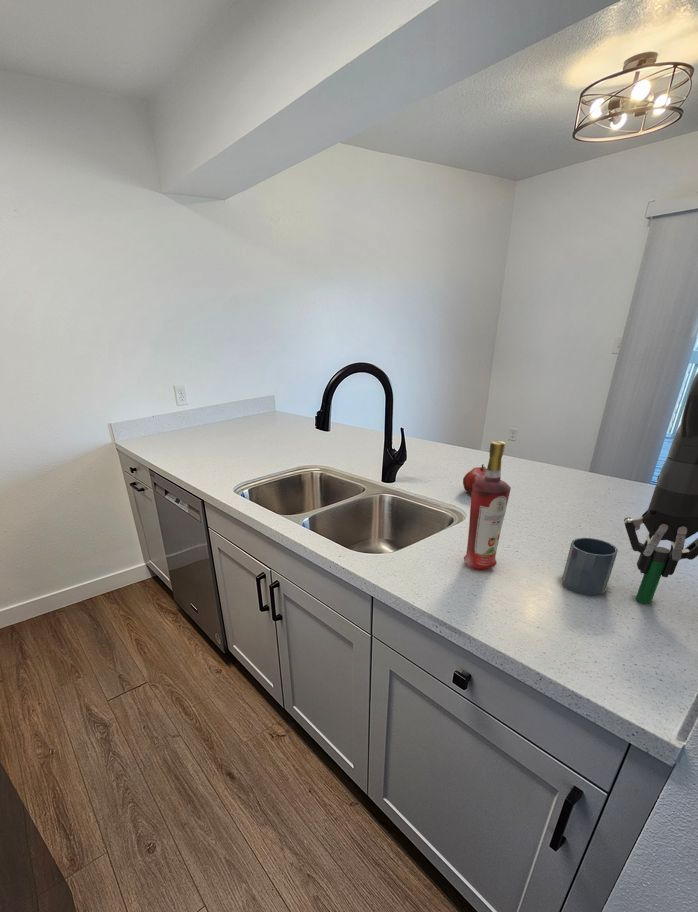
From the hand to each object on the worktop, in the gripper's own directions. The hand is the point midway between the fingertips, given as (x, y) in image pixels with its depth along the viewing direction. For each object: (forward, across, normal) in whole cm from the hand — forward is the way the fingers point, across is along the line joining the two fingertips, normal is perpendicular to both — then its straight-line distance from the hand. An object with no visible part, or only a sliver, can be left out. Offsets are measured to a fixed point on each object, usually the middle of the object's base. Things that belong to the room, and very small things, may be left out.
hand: (653, 573), depth 81 cm
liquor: (+6, -30, +1) cm, 30 cm away
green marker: (+6, 0, 0) cm, 6 cm away
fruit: (+6, -38, +48) cm, 61 cm away
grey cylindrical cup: (+6, -10, +1) cm, 12 cm away
